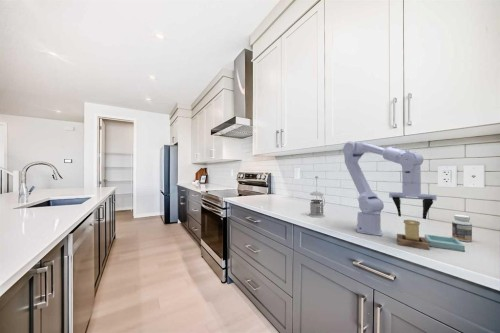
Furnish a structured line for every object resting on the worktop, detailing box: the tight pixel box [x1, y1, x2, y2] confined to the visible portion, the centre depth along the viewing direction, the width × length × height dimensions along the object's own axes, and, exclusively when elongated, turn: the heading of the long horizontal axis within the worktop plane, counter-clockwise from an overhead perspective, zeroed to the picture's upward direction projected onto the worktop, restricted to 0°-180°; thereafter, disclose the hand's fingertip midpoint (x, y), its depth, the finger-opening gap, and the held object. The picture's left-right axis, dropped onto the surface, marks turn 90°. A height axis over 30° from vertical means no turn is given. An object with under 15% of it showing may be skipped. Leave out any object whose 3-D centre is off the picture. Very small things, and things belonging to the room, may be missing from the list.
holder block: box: [396, 233, 430, 251], centre depth 80 cm, size 9×9×2 cm
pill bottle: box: [451, 214, 473, 243], centre depth 85 cm, size 6×6×10 cm
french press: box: [308, 176, 326, 219], centre depth 129 cm, size 10×12×25 cm
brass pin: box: [403, 219, 421, 242], centre depth 81 cm, size 5×5×9 cm
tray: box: [424, 233, 466, 252], centre depth 79 cm, size 10×10×2 cm
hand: (411, 217), depth 81 cm, fingers open, 7 cm apart
